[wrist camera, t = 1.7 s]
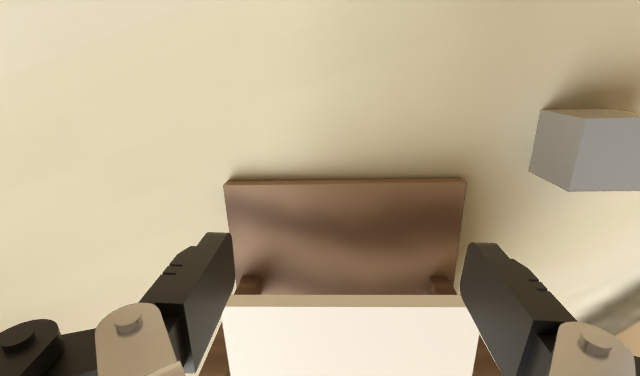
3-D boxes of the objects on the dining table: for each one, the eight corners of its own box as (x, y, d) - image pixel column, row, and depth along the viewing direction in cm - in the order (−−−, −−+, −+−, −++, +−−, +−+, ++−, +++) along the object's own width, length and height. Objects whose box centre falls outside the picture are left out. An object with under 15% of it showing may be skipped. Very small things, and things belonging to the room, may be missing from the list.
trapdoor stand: (227, 180, 29) (153, 259, 17) (461, 177, 28) (556, 258, 16) (249, 357, 35) (208, 501, 24) (438, 358, 35) (493, 509, 23)
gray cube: (540, 109, 26) (586, 118, 21) (606, 108, 26) (667, 116, 21) (528, 170, 28) (568, 191, 23) (590, 169, 27) (643, 190, 23)
